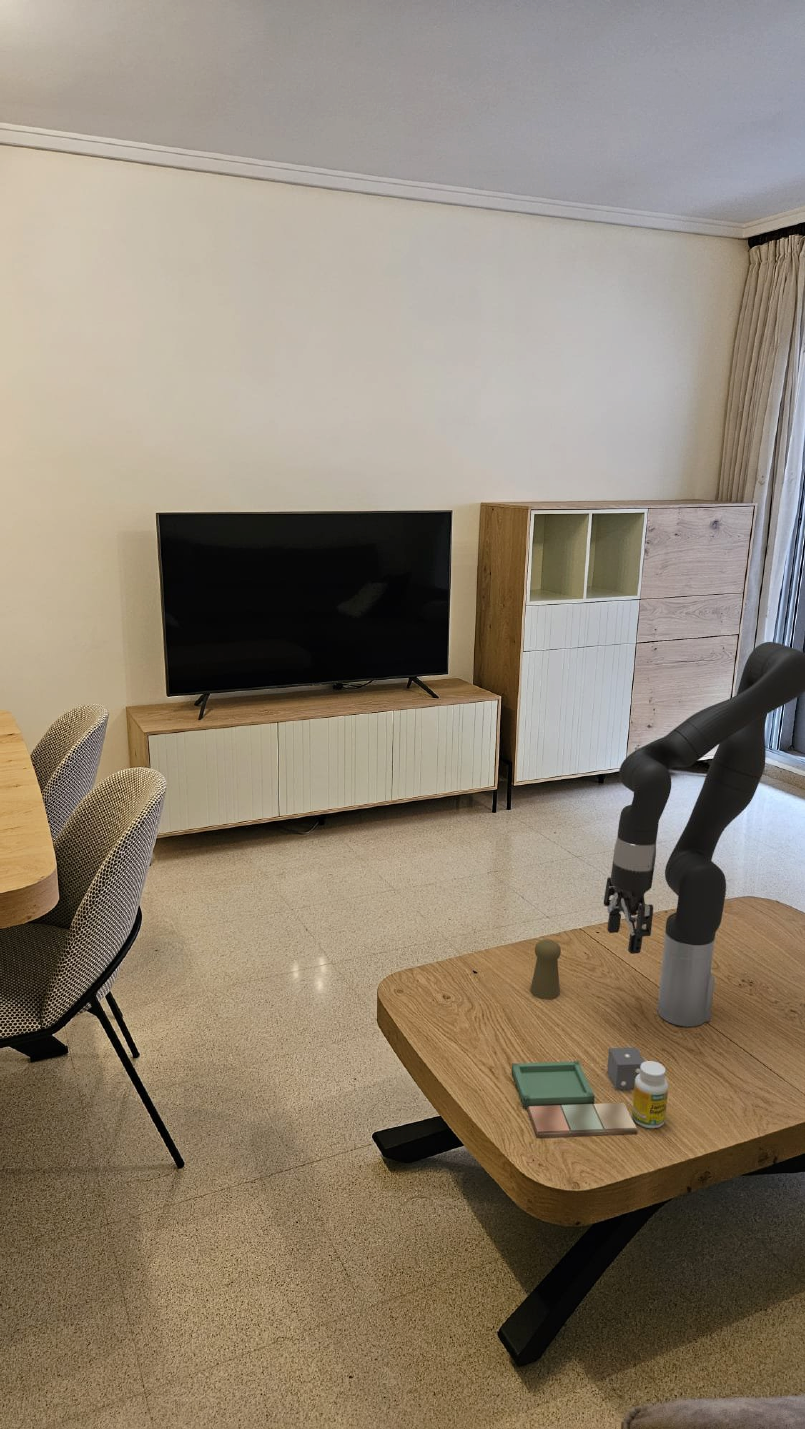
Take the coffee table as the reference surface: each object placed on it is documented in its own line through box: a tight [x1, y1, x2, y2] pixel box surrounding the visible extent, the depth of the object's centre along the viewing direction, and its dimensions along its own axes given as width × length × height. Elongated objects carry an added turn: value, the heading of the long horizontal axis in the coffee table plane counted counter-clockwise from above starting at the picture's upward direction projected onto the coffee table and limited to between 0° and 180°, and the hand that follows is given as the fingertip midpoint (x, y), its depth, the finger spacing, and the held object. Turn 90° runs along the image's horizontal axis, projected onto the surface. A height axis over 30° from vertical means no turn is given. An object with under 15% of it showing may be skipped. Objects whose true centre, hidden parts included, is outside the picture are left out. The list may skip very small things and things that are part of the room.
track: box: [526, 1102, 639, 1139], centre depth 161 cm, size 16×7×1 cm, turn 95°
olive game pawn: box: [529, 939, 562, 1001], centre depth 200 cm, size 6×6×11 cm
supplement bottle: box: [631, 1060, 669, 1129], centre depth 161 cm, size 5×5×10 cm
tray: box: [511, 1060, 596, 1109], centre depth 169 cm, size 12×10×2 cm
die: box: [606, 1046, 646, 1091], centre depth 172 cm, size 5×5×5 cm
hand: (623, 942), depth 185 cm, fingers open, 8 cm apart
